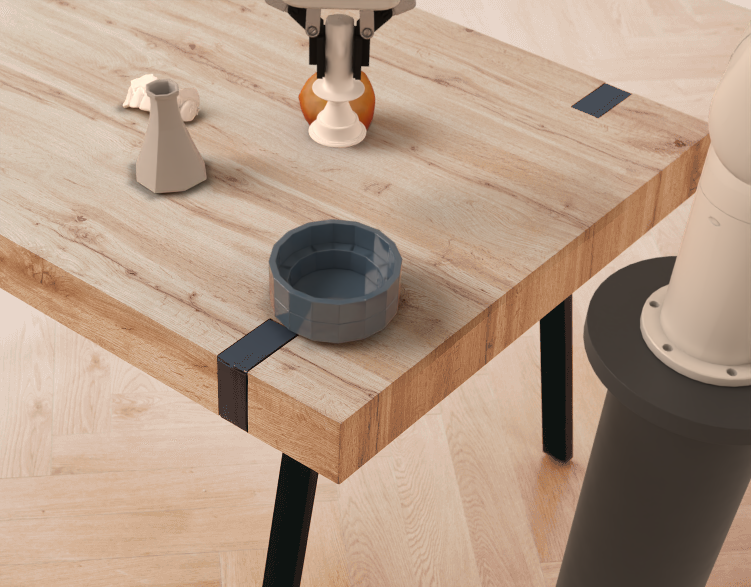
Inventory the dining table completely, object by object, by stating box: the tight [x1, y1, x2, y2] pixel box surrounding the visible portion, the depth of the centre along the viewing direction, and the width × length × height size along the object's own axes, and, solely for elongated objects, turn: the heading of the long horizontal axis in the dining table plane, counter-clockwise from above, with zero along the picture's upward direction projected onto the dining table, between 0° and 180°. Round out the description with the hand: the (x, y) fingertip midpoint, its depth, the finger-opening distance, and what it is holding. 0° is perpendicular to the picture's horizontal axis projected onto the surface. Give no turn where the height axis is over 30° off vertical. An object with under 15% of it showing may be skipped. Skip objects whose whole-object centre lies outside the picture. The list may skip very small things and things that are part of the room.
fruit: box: [297, 70, 376, 132], centre depth 114 cm, size 8×8×8 cm
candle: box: [308, 13, 367, 149], centre depth 95 cm, size 5×5×12 cm
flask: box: [135, 78, 208, 194], centre depth 105 cm, size 7×7×10 cm
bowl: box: [268, 218, 403, 344], centre depth 93 cm, size 11×11×5 cm
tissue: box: [122, 73, 201, 122], centre depth 116 cm, size 6×8×4 cm
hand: (339, 70), depth 95 cm, fingers closed on candle, 2 cm apart
